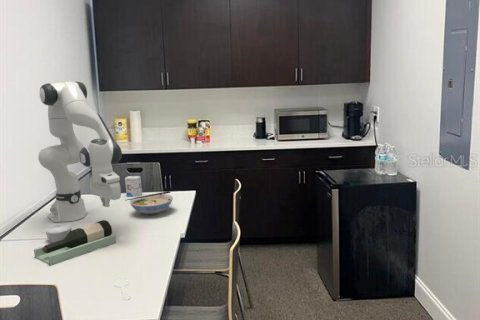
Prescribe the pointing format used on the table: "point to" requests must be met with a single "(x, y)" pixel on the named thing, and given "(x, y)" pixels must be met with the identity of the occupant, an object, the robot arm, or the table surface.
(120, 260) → the table surface
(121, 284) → the spoon
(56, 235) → the ramekin
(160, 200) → the ramen bowl
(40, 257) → the tray
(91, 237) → the wine bottle
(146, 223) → the table surface
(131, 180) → the ink box
